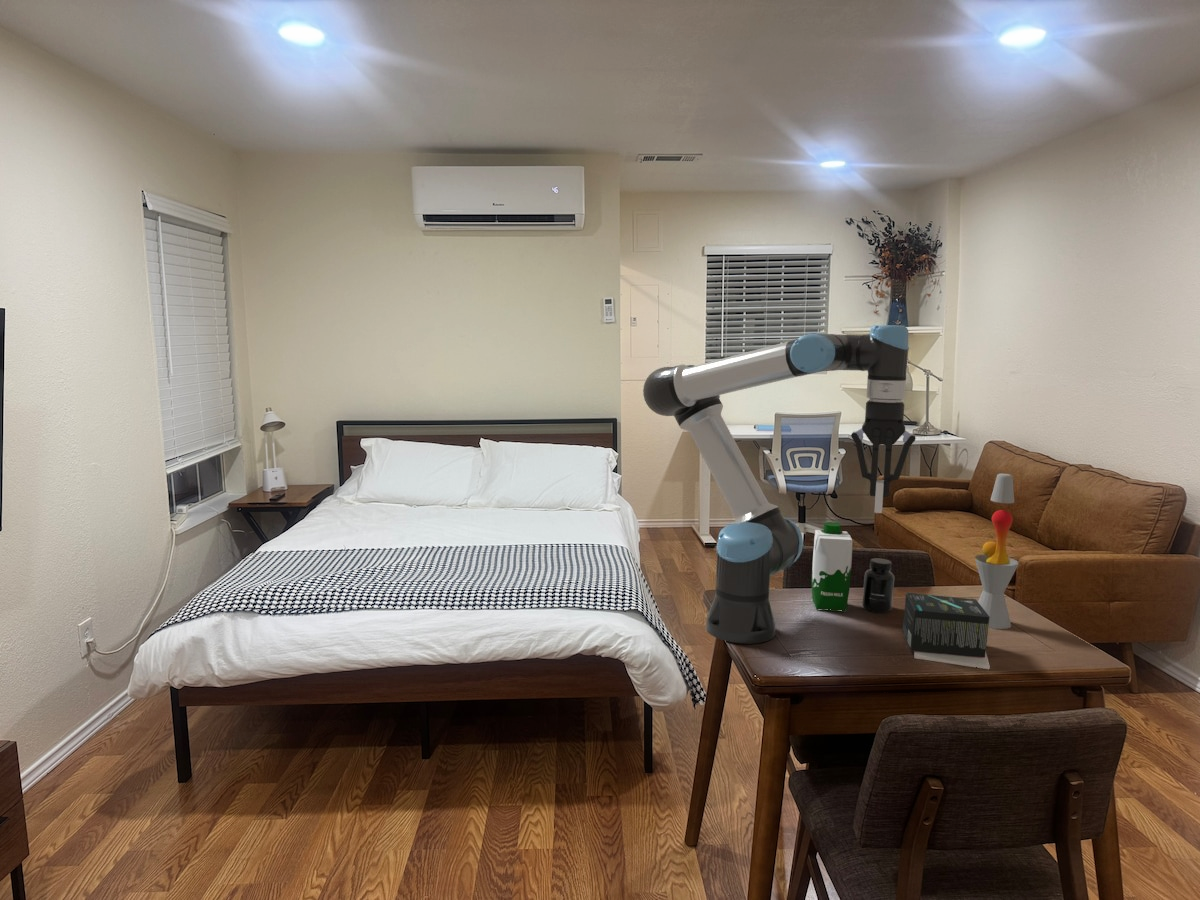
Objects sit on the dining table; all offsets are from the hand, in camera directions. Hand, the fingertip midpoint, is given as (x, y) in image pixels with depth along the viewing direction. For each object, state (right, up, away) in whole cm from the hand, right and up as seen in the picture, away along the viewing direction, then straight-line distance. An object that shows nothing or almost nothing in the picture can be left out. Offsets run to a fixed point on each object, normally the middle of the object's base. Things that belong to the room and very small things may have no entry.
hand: (878, 511), depth 167 cm
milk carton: (-3, -25, +25) cm, 36 cm away
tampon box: (+7, -23, +2) cm, 24 cm away
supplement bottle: (+8, -26, +24) cm, 36 cm away
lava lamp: (+32, -27, +17) cm, 45 cm away
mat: (+15, -29, -1) cm, 33 cm away
